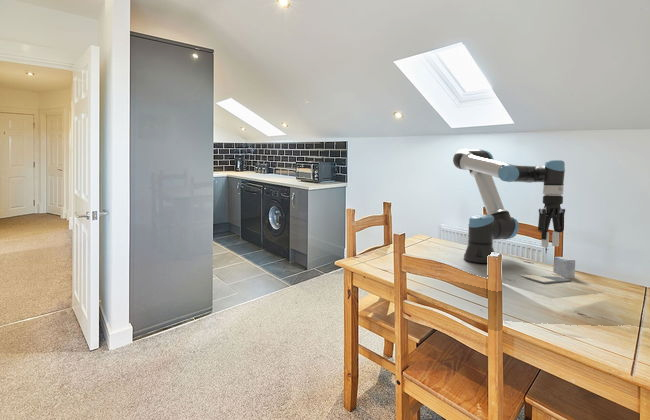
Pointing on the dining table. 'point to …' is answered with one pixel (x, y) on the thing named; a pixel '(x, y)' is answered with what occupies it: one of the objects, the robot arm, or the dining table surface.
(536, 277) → the mat
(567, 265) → the medicine box
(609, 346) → the dining table surface
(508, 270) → the dining table surface
